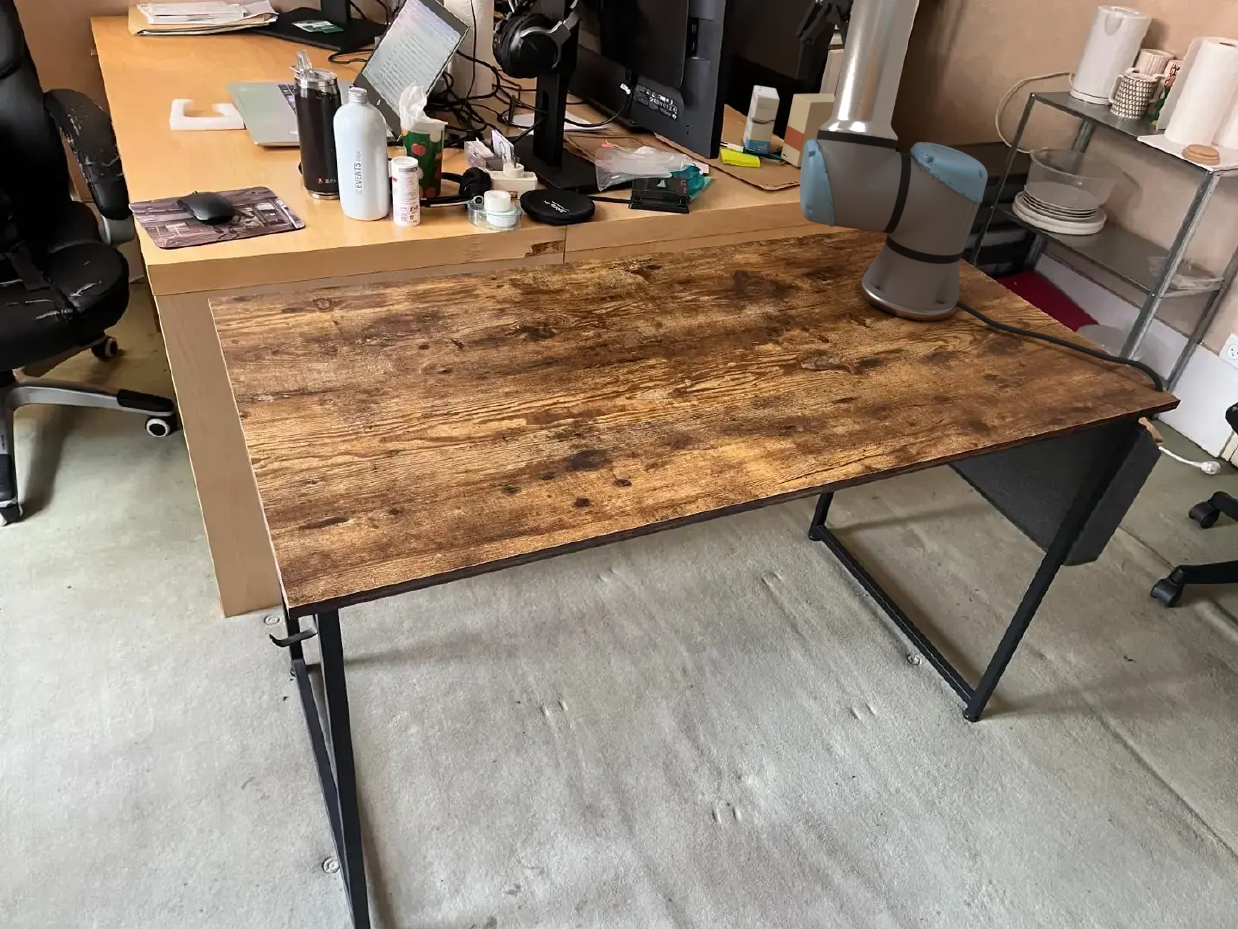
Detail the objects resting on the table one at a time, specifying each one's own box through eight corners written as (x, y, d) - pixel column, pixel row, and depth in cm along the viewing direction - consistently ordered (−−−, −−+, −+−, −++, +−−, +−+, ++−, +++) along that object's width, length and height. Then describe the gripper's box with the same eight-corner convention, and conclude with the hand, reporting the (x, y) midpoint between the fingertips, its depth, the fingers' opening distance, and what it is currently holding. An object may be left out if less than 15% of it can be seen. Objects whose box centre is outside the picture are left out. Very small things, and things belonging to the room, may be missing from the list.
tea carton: (832, 93, 189) (793, 93, 185) (850, 101, 185) (810, 102, 181) (818, 155, 197) (780, 157, 193) (834, 164, 193) (796, 166, 188)
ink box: (768, 155, 193) (780, 98, 186) (745, 152, 193) (757, 95, 186) (764, 142, 200) (776, 86, 193) (742, 139, 200) (753, 83, 193)
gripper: (904, -18, 163) (873, 104, 176) (823, -41, 181) (800, 71, 193) (872, -20, 160) (843, 104, 173) (792, -43, 178) (771, 71, 190)
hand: (820, 87), depth 183 cm, fingers open, 13 cm apart
